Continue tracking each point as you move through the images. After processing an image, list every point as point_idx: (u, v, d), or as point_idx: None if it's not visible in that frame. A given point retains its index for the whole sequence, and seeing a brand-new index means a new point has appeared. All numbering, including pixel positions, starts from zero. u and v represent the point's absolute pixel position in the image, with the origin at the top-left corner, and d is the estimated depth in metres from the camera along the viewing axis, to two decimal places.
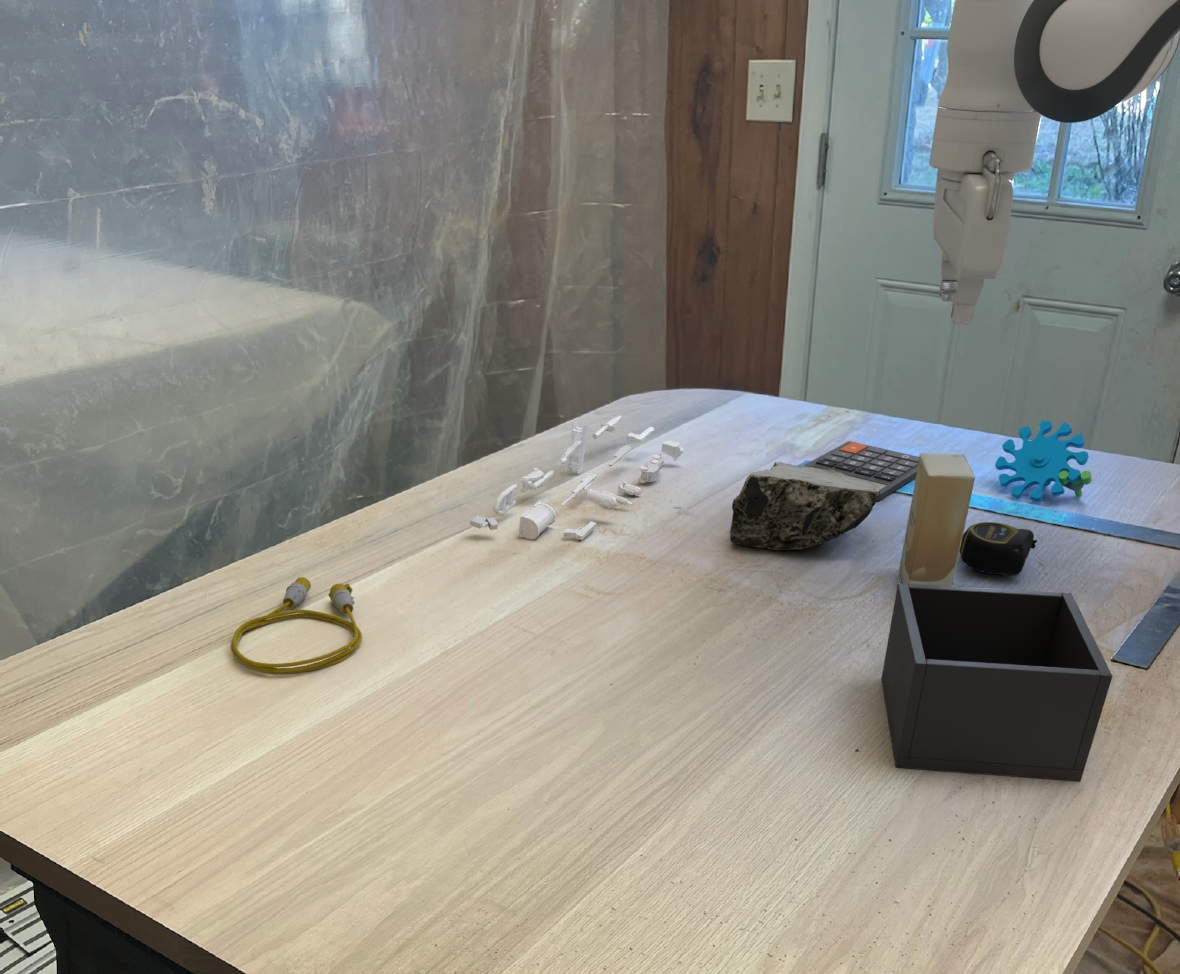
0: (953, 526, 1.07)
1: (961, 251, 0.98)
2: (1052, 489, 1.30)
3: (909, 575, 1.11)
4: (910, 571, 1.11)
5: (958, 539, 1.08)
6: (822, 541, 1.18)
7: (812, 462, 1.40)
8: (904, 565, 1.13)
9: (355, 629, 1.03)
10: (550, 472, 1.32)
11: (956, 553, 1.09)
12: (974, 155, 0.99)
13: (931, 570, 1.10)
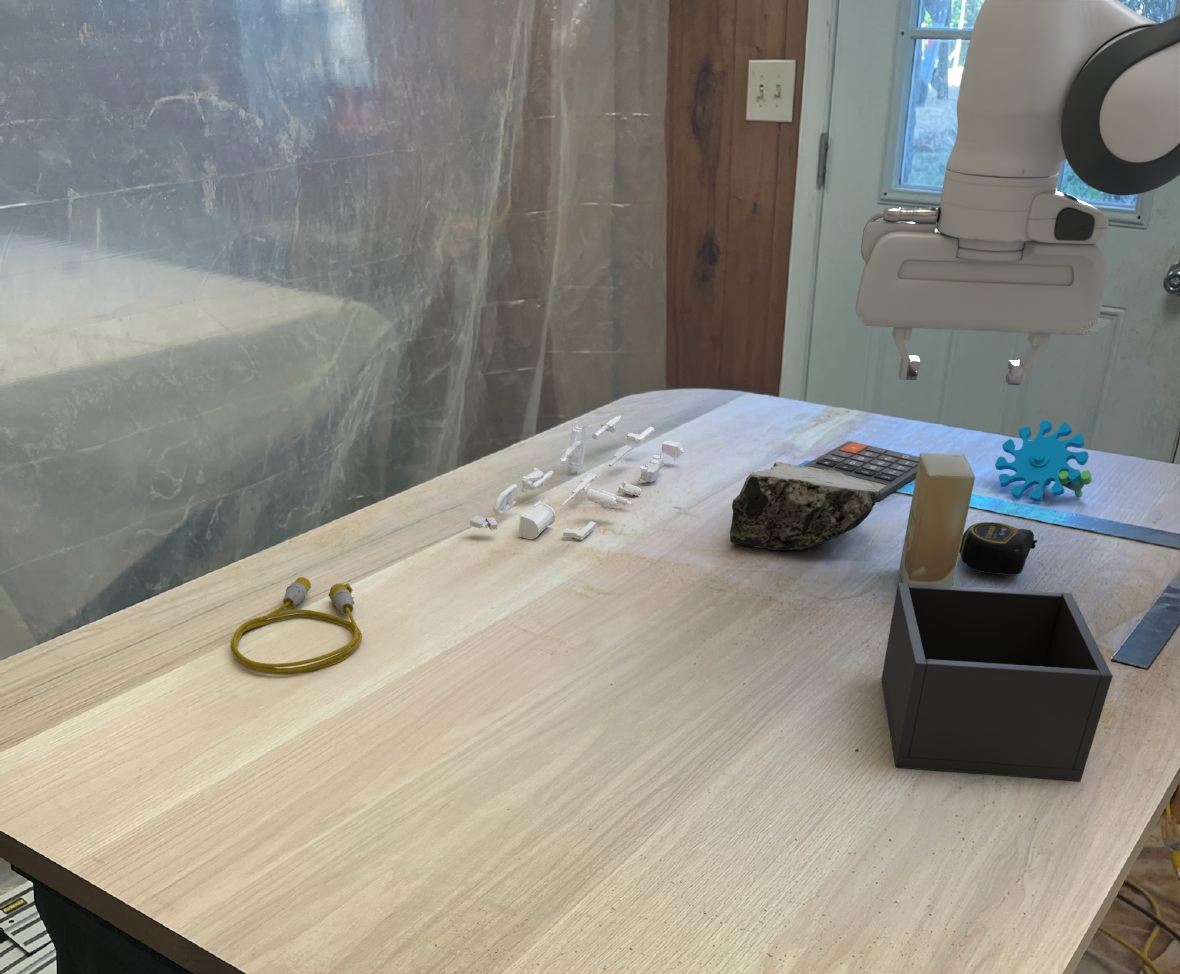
0: (953, 526, 1.07)
1: None
2: (1052, 489, 1.30)
3: (909, 575, 1.11)
4: (910, 571, 1.11)
5: (958, 539, 1.08)
6: (822, 541, 1.18)
7: (812, 462, 1.40)
8: (904, 565, 1.13)
9: (355, 629, 1.03)
10: (550, 472, 1.32)
11: (956, 553, 1.09)
12: None
13: (931, 570, 1.10)
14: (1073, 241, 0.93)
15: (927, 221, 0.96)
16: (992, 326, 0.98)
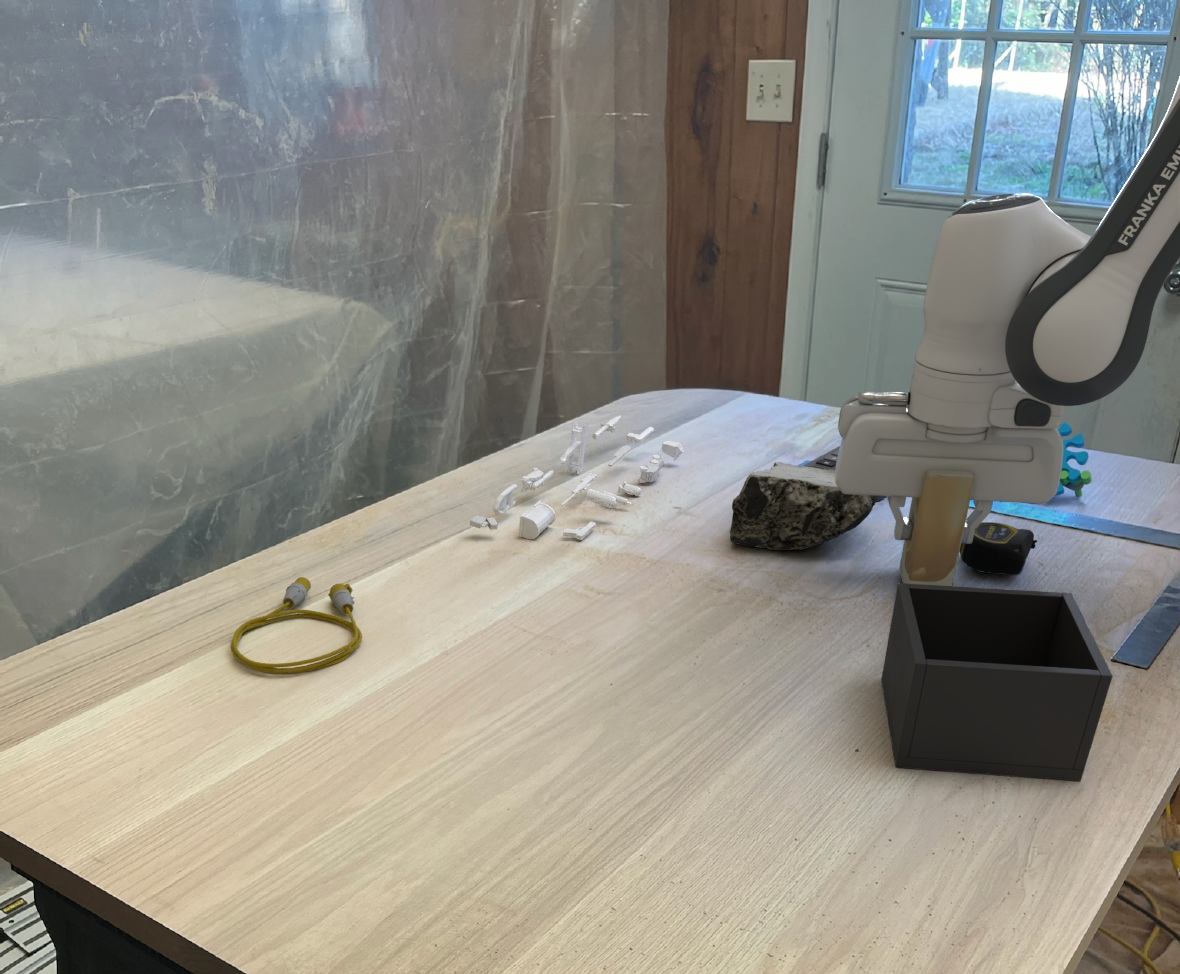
0: (953, 526, 1.07)
1: None
2: None
3: (909, 575, 1.11)
4: (910, 571, 1.11)
5: (958, 539, 1.08)
6: (822, 541, 1.18)
7: (812, 462, 1.40)
8: (904, 565, 1.13)
9: (355, 629, 1.03)
10: (550, 472, 1.32)
11: (956, 553, 1.09)
12: None
13: (931, 570, 1.10)
14: (1031, 427, 1.01)
15: (898, 404, 1.04)
16: None
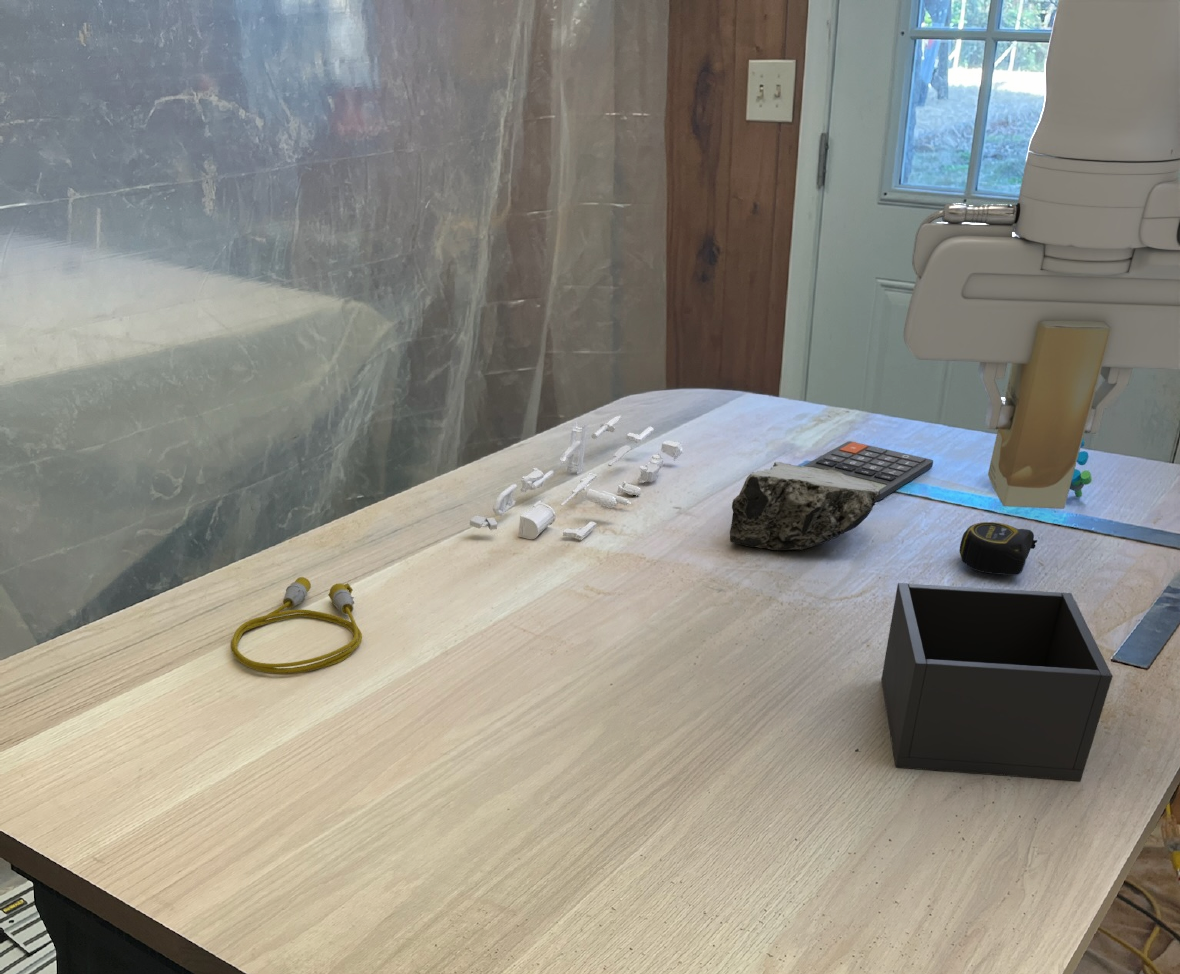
0: (1076, 403, 0.75)
1: None
2: None
3: (1008, 479, 0.79)
4: (1009, 473, 0.78)
5: (1082, 423, 0.76)
6: (822, 541, 1.18)
7: (812, 462, 1.40)
8: (998, 468, 0.81)
9: (355, 629, 1.03)
10: (549, 472, 1.32)
11: (1077, 444, 0.77)
12: None
13: (1040, 470, 0.78)
14: None
15: (1002, 222, 0.72)
16: None
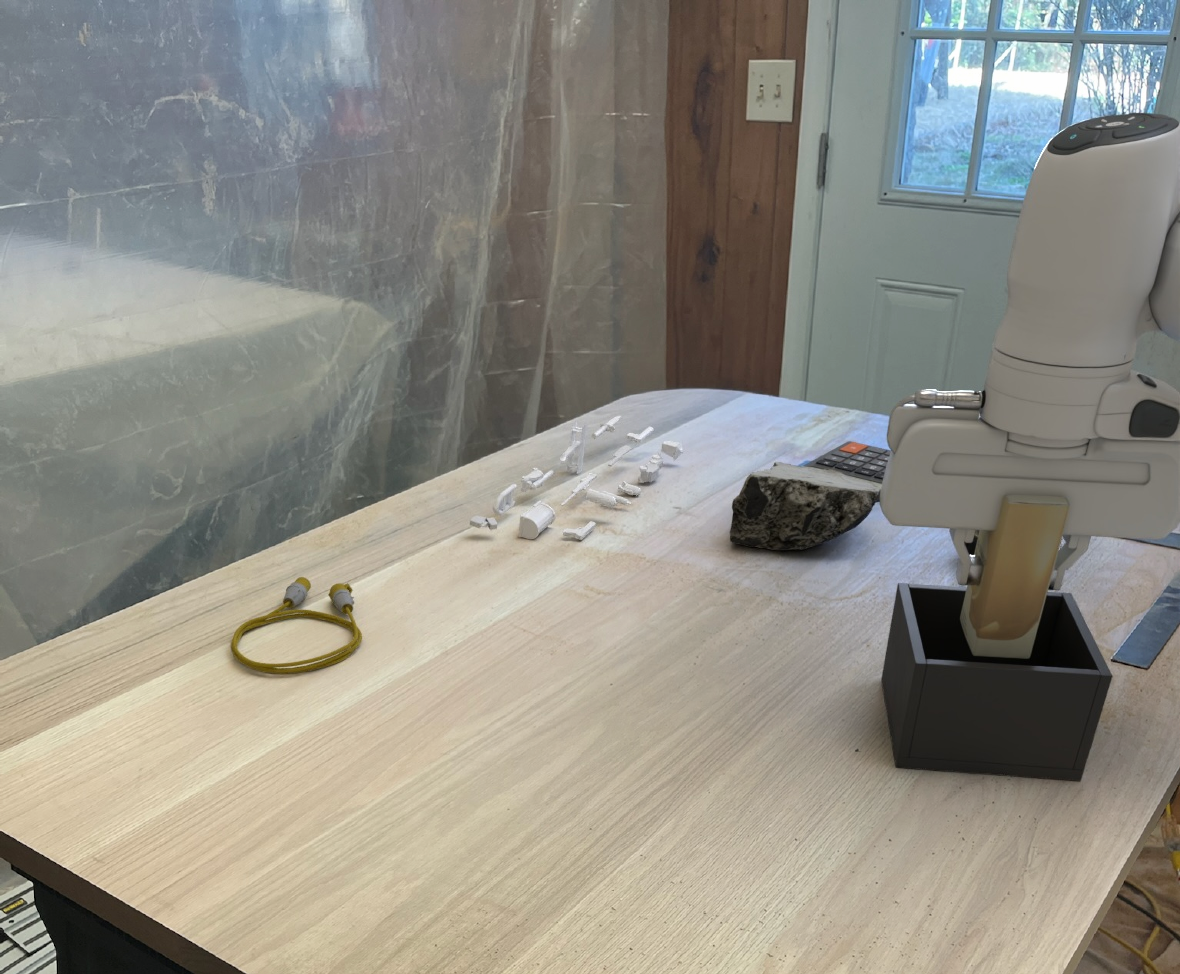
0: (1039, 568, 0.81)
1: None
2: None
3: (977, 631, 0.84)
4: (978, 626, 0.84)
5: (1045, 585, 0.81)
6: (822, 541, 1.18)
7: (812, 462, 1.40)
8: (968, 617, 0.87)
9: (355, 629, 1.03)
10: (549, 472, 1.32)
11: (1040, 603, 0.82)
12: None
13: (1006, 625, 0.84)
14: (1152, 438, 0.75)
15: (969, 407, 0.78)
16: None
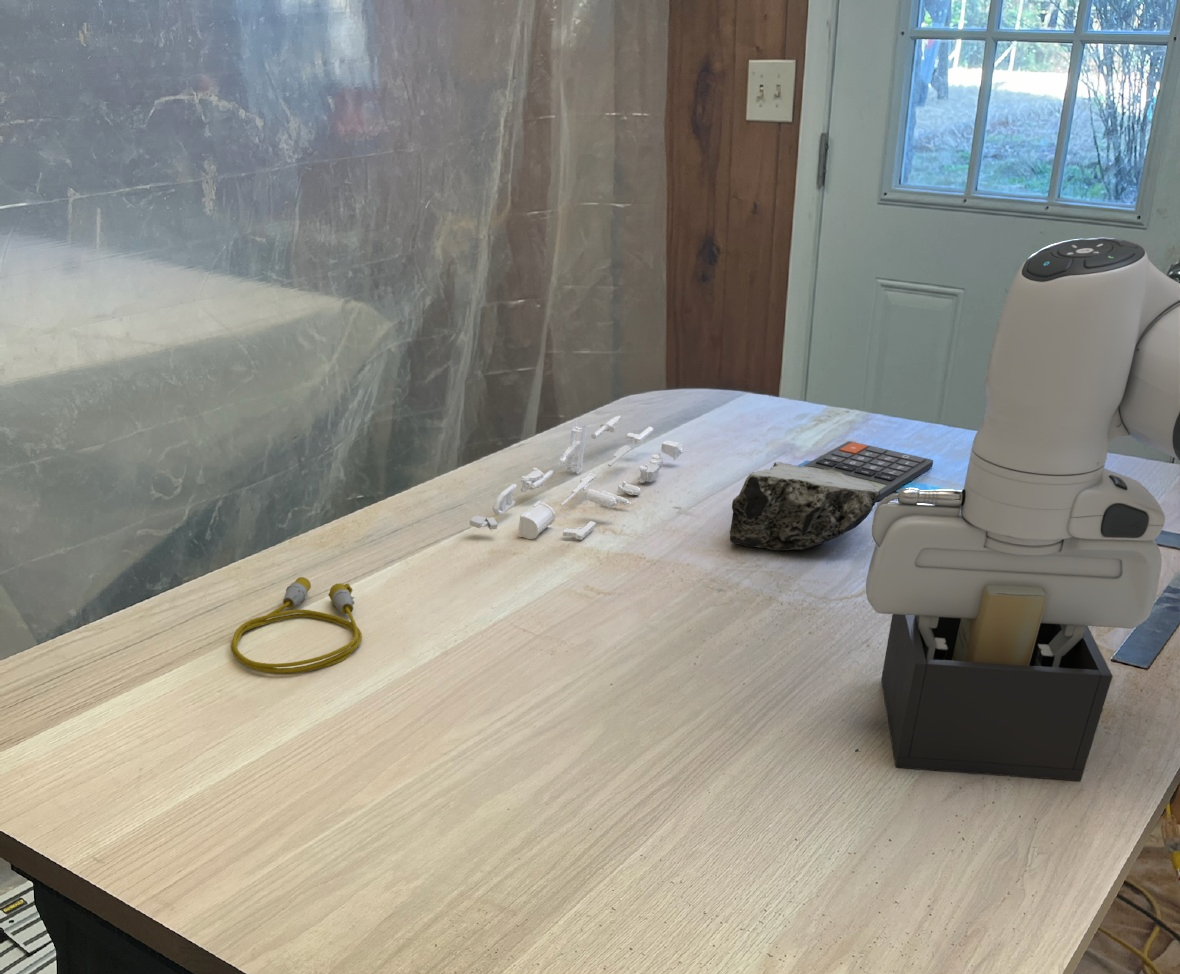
0: (1018, 654, 0.85)
1: None
2: None
3: None
4: None
5: None
6: (822, 541, 1.18)
7: (812, 462, 1.40)
8: None
9: (355, 629, 1.03)
10: (549, 471, 1.32)
11: None
12: None
13: None
14: (1123, 538, 0.79)
15: (950, 505, 0.82)
16: None
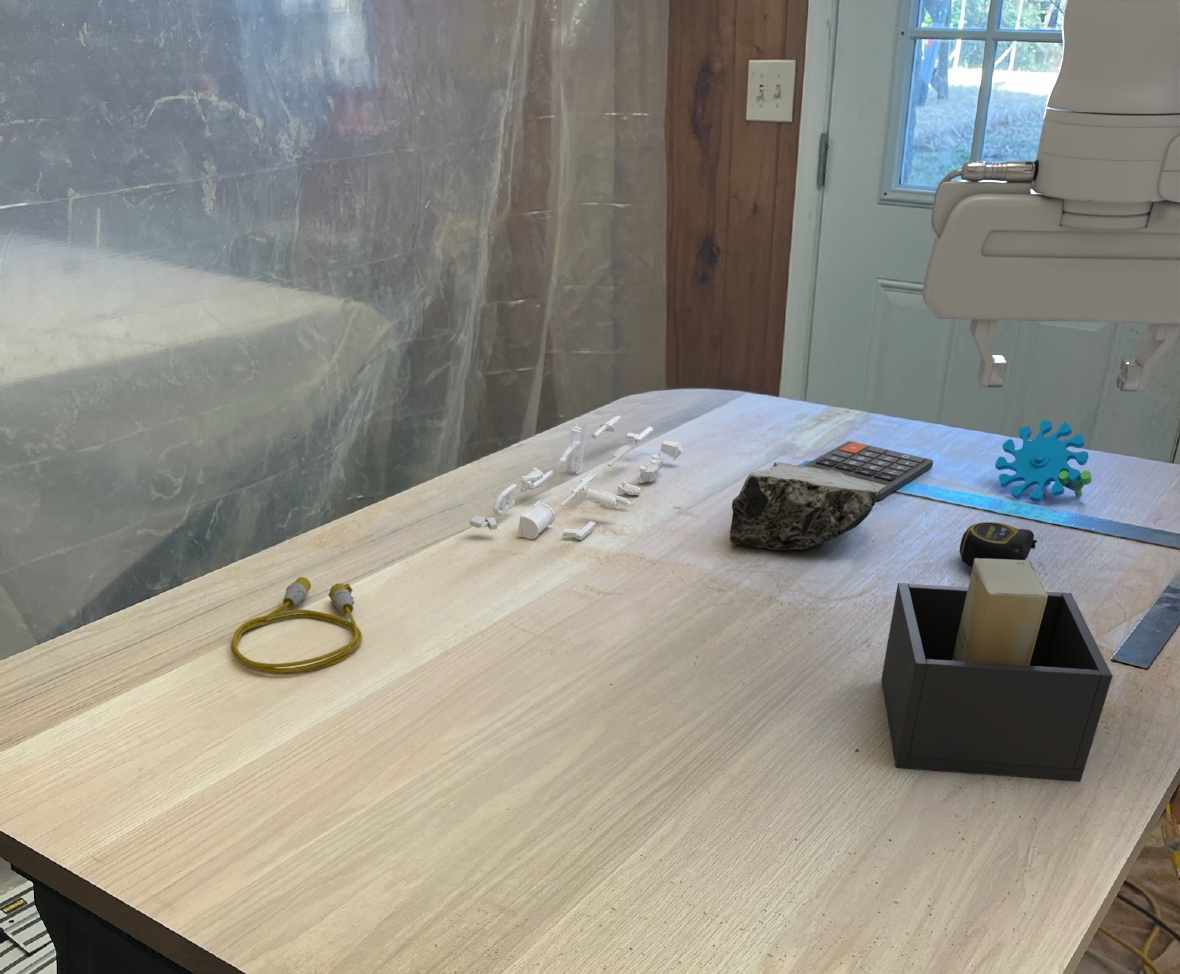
0: (1018, 654, 0.85)
1: None
2: (1052, 489, 1.30)
3: None
4: None
5: None
6: (822, 541, 1.18)
7: (812, 462, 1.40)
8: None
9: (355, 629, 1.03)
10: (549, 472, 1.32)
11: None
12: None
13: None
14: None
15: (1020, 179, 0.73)
16: (1104, 315, 0.75)
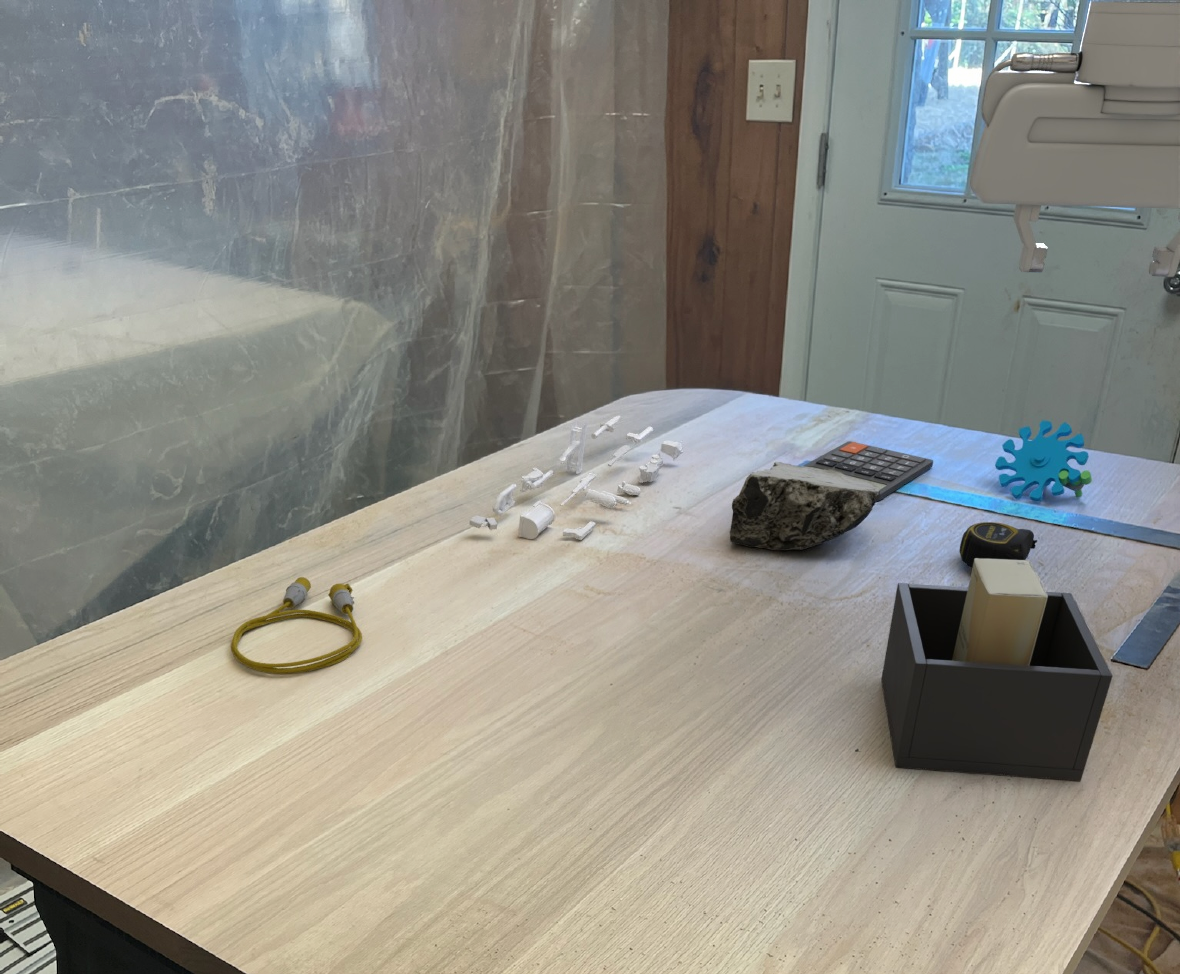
0: (1018, 654, 0.85)
1: None
2: (1052, 489, 1.30)
3: None
4: None
5: None
6: (822, 541, 1.18)
7: (812, 462, 1.40)
8: None
9: (355, 629, 1.03)
10: (549, 472, 1.32)
11: None
12: None
13: None
14: None
15: (1065, 69, 0.79)
16: (1140, 200, 0.81)
